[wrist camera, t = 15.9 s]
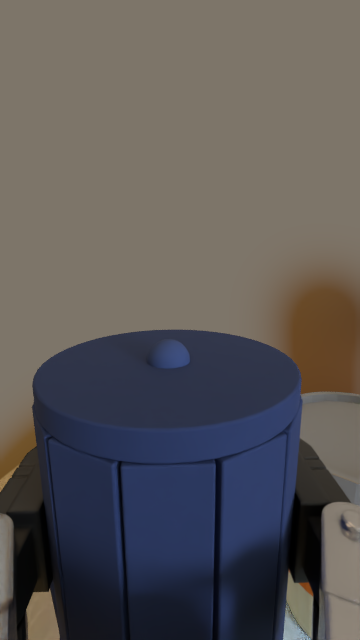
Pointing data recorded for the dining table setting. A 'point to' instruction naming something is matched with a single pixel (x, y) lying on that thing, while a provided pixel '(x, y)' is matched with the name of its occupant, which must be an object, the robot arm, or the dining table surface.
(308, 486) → the robot arm
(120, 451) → the navy lidded canister
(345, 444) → the reusable coffee cup
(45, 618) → the dining table surface
